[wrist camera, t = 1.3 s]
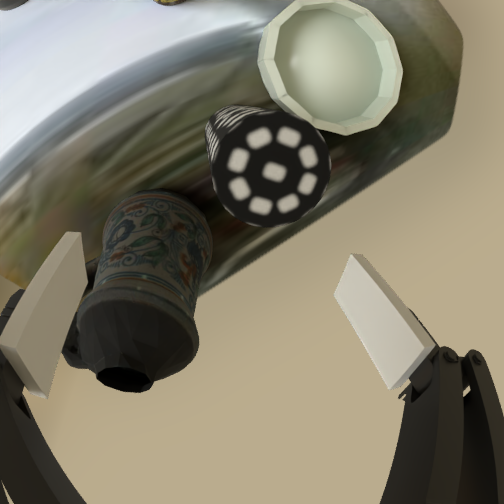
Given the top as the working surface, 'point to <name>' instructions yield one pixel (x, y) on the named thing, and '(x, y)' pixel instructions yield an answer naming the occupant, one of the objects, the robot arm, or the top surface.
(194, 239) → the beer stein
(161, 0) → the sauce bottle
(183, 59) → the top surface
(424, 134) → the top surface
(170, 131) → the top surface
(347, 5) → the bowl
